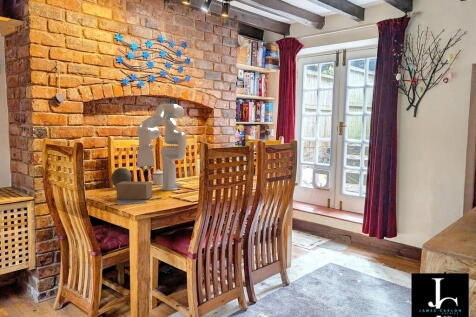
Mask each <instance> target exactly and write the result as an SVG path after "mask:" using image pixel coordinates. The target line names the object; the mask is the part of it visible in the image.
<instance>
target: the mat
mask: <svg viewBox="0 0 476 317" xmlns="http://www.w3.org/2000/svg"><path fill="white" fill-rule="evenodd" d="M146 200H147V199H146ZM146 200H142V199H116V200H115V201H116V204H117V206H125V205H135V204H137V205H139V204H147V203H148V201H146Z"/></svg>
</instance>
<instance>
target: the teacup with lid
mask: <svg viewBox="0 0 476 317" xmlns="http://www.w3.org/2000/svg"><path fill="white" fill-rule="evenodd" d="M151 177H152V179H151ZM148 179H149V180H150V181H149V182H152V185H154V186H163V170H160V169H159V168H158V169H156V170H155V171H153V172H152V174H150V175H148Z"/></svg>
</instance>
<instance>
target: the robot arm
mask: <svg viewBox="0 0 476 317" xmlns="http://www.w3.org/2000/svg"><path fill="white" fill-rule="evenodd" d="M184 116H185V110H184V108H183V106H181V105H178V104H176V103H161V104H159V105H158V106H157V107H156V109H155V111H154V113H153V114H152V116H150V117H148V118H146V119H144V120H142V122H141V123H139V125H138V128H137V130H136V135H137V137H138V150H137V153H136V164H137V165H136V168H138V169H141V170H142V173H143V177H144V178H149V176H150V175H149V174H150V172H149V171H150V169H151V168H155V157H154V151H153V150H154V147H155V146H154V145H153V144H152V140H153V139H154V140H155V139H158V138H159V137H160V135H161V131H160V129H159V128H158V127H160V126H162V125H163V124H164V125H165V126H164V134H163V136H164V137H163V140H164V141H163V142H164V143H165V144H166V145H164V146H163V147H161V149H160V155H161V164H162V165H161V166H162V167H161V168H162V170H161V171H162V172H163V184H162V186H161V187H160V190H161V191H167V192H169V191H170V192H171V191H177V190H179V187H183V183H182V182H181V183H177V168H176V167H177V165H176V163H175V161H174V160H183V159H184V158H185V157H186V147H187V136H186V135H187V134H186V133H185V132H184V131H178V125H177V122H176V121H175V120H174V119H182V118H184ZM177 145H178V146H177Z"/></svg>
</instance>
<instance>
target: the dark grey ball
mask: <svg viewBox="0 0 476 317" xmlns="http://www.w3.org/2000/svg"><path fill="white" fill-rule="evenodd" d="M132 175H133V174H132V172H131V171H130V170H129V169H128V168H127V167H126V168H125V167H118V168H116V169H114V170H113V172H112V173H111V178H110V180H111V183H112V185H113V186H114V187H115V188H116V184H117V183H120V182H123V181H128V182H132Z"/></svg>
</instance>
